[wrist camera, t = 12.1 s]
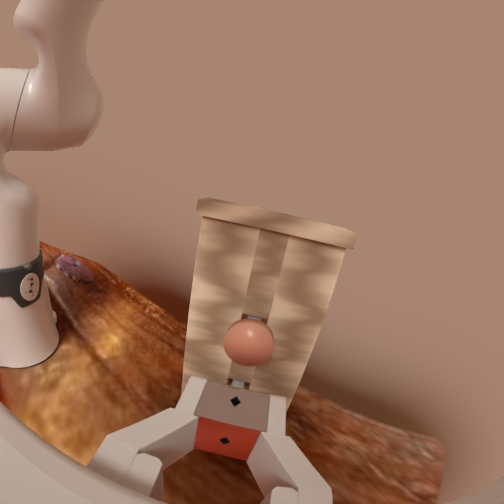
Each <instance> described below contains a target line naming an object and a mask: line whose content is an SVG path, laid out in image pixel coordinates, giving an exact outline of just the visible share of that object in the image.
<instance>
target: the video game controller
mask: <svg viewBox="0 0 504 504" xmlns="http://www.w3.org/2000/svg"><path fill="white" fill-rule="evenodd" d="M55 264H56V267H57V269H59V270H61V271H62V272H63V273H64V274H65V276H66V277H68V278H69V277H70V276H71V277H72V278H73V280H75V281H76V282H78V281H79V280H80V279H82V280H84V281H86V282H91V281H93V278H94V275H93V273H92V272H91V271H89V270H88V269H87V268H86V267H85V266H84V265H83V264H82V263H80V262H79V261H77V260H76V259H75V258H74V257H72V256H67V255H66V256H64V255H63V254H62V255H61V256H60V257H58V258H57V259H56V260H55Z"/></svg>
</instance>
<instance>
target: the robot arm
mask: <svg viewBox="0 0 504 504" xmlns="http://www.w3.org/2000/svg"><path fill="white" fill-rule="evenodd" d="M102 2H103V0H21V1H20V3H19V5H18V7H17V9H16V11H15V14H14V18H13V25H14V29H15V31H16V33H17V34H18V35H19V36H20V37H21V38H22V39H23V40H24V41H25V42H26V43H28V44H29V45H31V46H32V47H33V48H34V49H35V50H36V52H37V54H38V65H37V67H35V68H33V69H30V71H29V69H18V68H0V366H5V367H12V368H22V367H28V366H32V365H35V364H38V363H40V362H42V361H43V360H45V359H46V358H48V357H49V356H50V355H51V354H52V353H53V352H54V350H55V349H56V347H57V345H58V342H59V334H58V331H57V328H56V322H57V316H56V313H55V311H52V307H51V303H50V298H49V293H48V288H47V283H46V280H45V278H44V269H43V266H44V262H43V257H42V251H41V250H40V247H39V214H40V213H39V212H40V203H39V198H38V195H37V193H36V191H35V190H34V189H33V187H31V186H30V185H29V184H28V183H26V182H25V181H24V180H22V179H20V178H19V177H17V176H15V175H13V174H12V173H10V172H9V171H8V170H7V169H6V167H5V165H4V154H5V153H6V152H8V151H10V148H11V150H13V151H15V150H16V151H17V150H18V151H19V150H20V151H21V150H22V151H55V150H62V149H68V148H74V147H79V146H82V145H83V144H84V143H85V142H86V141H87V140H88V139H89V138H90V137H91V136H92V134H93V133H94V132H95V130H96V128H97V126H98V124H99V122H100V119H101V116H102V111H103V97H102V93H101V90H100V88H99V86H98V84H97V83H96V81H95V80H94V78H93V76H92V75H91V72H90V70H89V67H88V63H87V57H86V43H87V37H88V33H89V30H90V27H91V25H92V22H93V20H94V18H95V16H96V13H97V11H98V10H99V8H100V6H101V4H102ZM285 432H286V398H285V397H283V396H278V395H272V394H266V393H261V392H257V391H252V390H247V389H243V388H239V387H234V386H231V385H227V384H224V383H220V382H217V381H214V380H210V379H206V378H203V377H200V376H197V375H194V374H192V375H191V376H190V378H189V380H188V382H187V384H186V387H185V389H184V391H183V393H182V395H181V397H180V399H179V401H178V404H177V406H176V408H175V409H174V408H168V409H166V410H164V411H162V412H160V413H158V414H155V415H153V416H151V417H149V418H147V419H144V420H142V421H140V422H137V423H135V424H133V425H130V426H128V427H126V428H123V429H121V430H118V431H116V432H113V433H111V434H108V435H107V436H106V438H105V439H104V441H103V443H102V444H101V446H100V447H99V449H98V450H97V452H96V453H95V455H94V456H93V458H92V459H91V461H90V463H89V464H88V466H87V467H86V466H84V465H82V464H81V463H79V462H77V461H76V460H74V459H72V458H71V457H69V456H68V455H66V454H65V453H63V452H62V451H60V450H59V449H57V448H56V447H54V446H53V445H51V444H50V443H49V442H47V441H46V440H45V439H43V438H42V437H41V436H39V435H38V434H37V433H35V432H34V431H33V430H32V429H30V428H29V427H28V426H27V425H25V424H24V423H23V422H22V421H21V420H19V419H18V418H17V417H16V416H15V415H14V414H13V413H12V412H10V411H9V410H8V409H7V408H6V407H5V406H4V405H3V404H2V403H1V402H0V504H168V503H165V502H162V501H161V500H162V497H163V494H164V484H163V470H164V469H165V468H167V467H168V466H170V465H171V464H173V463H174V462H176V461H177V460H179V459H180V458H182V457H183V456H185V455H186V454H187V453H189V452H190V451H192V450H193V448H196V449H200V450H203V451H207V452H212V453H216V454H220V455H224V456H228V457H232V458H236V459H241V460H245V461H247V464H248V466H249V468H250V470H251V472H252V474H253V476H254V478H255V480H256V482H257V484H258V486H259V488H260V490H261V492H262V494H263V496H264V499H263V500H262V501H261V502H260V504H333V502H332V488H331V487H330V486H329V485H328V484H327V483H326V481H325V480H324V479H323V478H322V477H321V475H320V474H319V473H318V472H317V470H316V469H315V468H314V467H313V465H312V464H311V463H310V462H309V460H308V459H307V458H306V457H305V455H304V454H303V453H302V451H301V450H300V449H299V448H298V446H297V445H296V444H295V442H294V441H293V440H292V438H291V437H290V436H285ZM444 504H504V477H502V478H500V479H499V480H497V481H495V482H493V483H491V484H489V485H487V486H485V487H483V488H481V489H479V490H476V491H474V492H472V493H470V494H467V495H465V496H462V497H460V498H457V499H455V500H452V501H449V502H447V503H444Z"/></svg>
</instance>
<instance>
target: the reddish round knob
mask: <svg viewBox="0 0 504 504" xmlns="http://www.w3.org/2000/svg"><path fill="white" fill-rule="evenodd" d="M266 321H267V319H266V318H262V317H257V316H253V315H249V314H244V313H243V315H242V319H241V320H238V321H236V322H234V323H233V324H232V325H231V326H230V327H229V329H228V331H227V334H226V336H225V339H224V350H225V352H226V354H227V355H228V357H229V358H230V359H232V360H233V361H234V362H236V363H238V364H240V365H244V366H257V365H260V364H262V363H264V362H266V361H267V360H268V359H269V358H270V357H271V355H272V353H273V346H274V336H273V333H272V331H271V329H270V328H269V327H268V326H267V325H266Z"/></svg>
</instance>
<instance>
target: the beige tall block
mask: <svg viewBox="0 0 504 504" xmlns="http://www.w3.org/2000/svg"><path fill="white" fill-rule="evenodd" d="M196 214H197V215H202V216H203V218H202V224H201V230H200V236H199V242H198V249H197V255H196V263H195V270H194V277H193V285H192V292H191V299H190V308H189V316H188V325H187V334H186V344H185V355H184V366H183V379H182V392H181V395H182V393H183V391H184V389H185V387H186V384H187V382H188V380H189V378H190V376H191V375H192V374H194V375H197V376H200V377H203V378H206V379H210V380H214V381H217V382H220V383H224V384H227V385H231V384H232V383H231V382H228V379H229V378H230V379H234V380H238V381H243V382H247V383H249V386H244V389H247V390H252V391H257V392H261V393H266V394H272V395H278V396H283V397H285V398H286V412H287V410H288V407H289V405H290V403H291V401H292V399H293V396H294V394H295V392H296V389H297V387H298V385H299V382H300V380H301V377H302V375H303V373H304V370H305V367H306V365H307V362H308V360H309V358H310V355H311V352H312V350H313V347H314V345H315V342H316V339H317V337H318V334H319V331H320V328H321V325H322V323H323V320H324V317H325V314H326V311H327V308H328V305H329V302H330V299H331V296H332V293H333V290H334V287H335V284H336V280H337V277H338V274H339V271H340V267H341V264H342V260H343V257H344V253H345V250H346V248H349V249H354V245H355V241H356V238H357V235H356V234H354V233H353V232H351V231H350V230H349V229H345V228H341V227H337V226H333V225H329V224H325V223H321V222H317V221H313V220H309V219H305V218H301V217H296V216H292V215H288V214H283V213H279V212H274V211H269V210H265V209H261V208H256V207H251V206H246V205H241V204H237V203H232V202H227V201H222V200H217V199H212V198H204V199H199V200H198V203H197V208H196ZM243 313H244V314H249V315H253V316H257V317H262V318H266V319H267V321H266V325H267V326H268V327H269V328H270V329H271V331H272V333H273V336H274V346H273V353H272V355H271V357H270V358H269V359H268V360H267V361H266V362H264V363H262V364H260V365H257V366H244V365H240V364H238V363H236V362H234V361H233V360H232V359H230V358H229V357H228V355H227V354H226V352H225V350H224V339H225V336H226V334H227V331H228V329H229V327H230V326H231V325H232V324H233V323H234V322H236V321H238V320H241V319H242V315H243Z"/></svg>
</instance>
